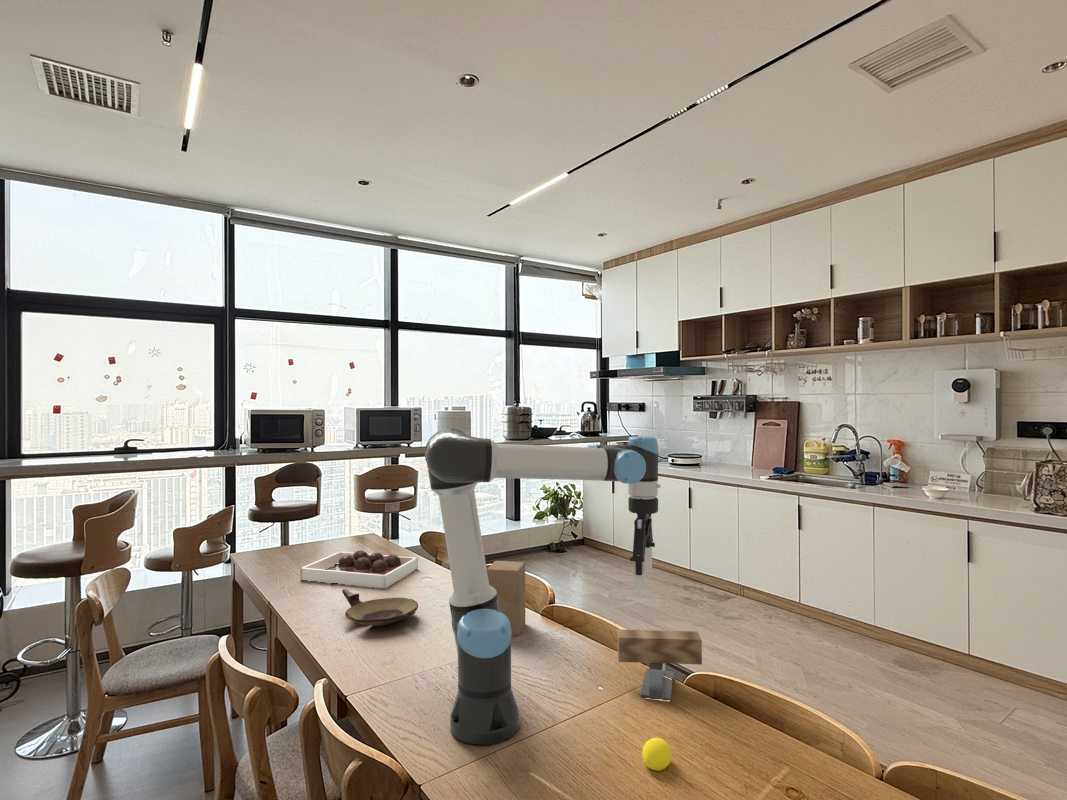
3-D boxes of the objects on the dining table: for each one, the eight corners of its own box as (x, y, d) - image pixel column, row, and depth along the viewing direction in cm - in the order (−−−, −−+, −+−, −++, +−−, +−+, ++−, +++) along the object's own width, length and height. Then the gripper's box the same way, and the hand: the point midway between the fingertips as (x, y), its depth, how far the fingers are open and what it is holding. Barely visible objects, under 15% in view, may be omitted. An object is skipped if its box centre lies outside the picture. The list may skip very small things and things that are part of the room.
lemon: (658, 782, 109) (658, 753, 109) (635, 769, 113) (635, 741, 113) (679, 765, 114) (679, 738, 114) (655, 753, 117) (655, 727, 117)
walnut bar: (697, 655, 146) (697, 631, 146) (701, 664, 141) (701, 639, 141) (617, 653, 148) (617, 629, 148) (618, 661, 143) (618, 637, 143)
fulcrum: (670, 702, 137) (670, 673, 137) (640, 698, 139) (640, 669, 139) (673, 675, 150) (673, 648, 150) (646, 672, 152) (645, 645, 152)
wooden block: (518, 637, 175) (518, 570, 175) (486, 634, 177) (486, 569, 177) (525, 624, 185) (525, 561, 185) (495, 622, 187) (495, 560, 187)
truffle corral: (385, 589, 221) (385, 575, 221) (300, 580, 231) (300, 568, 231) (417, 569, 245) (417, 557, 245) (339, 562, 256) (339, 551, 256)
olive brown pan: (363, 643, 172) (363, 617, 172) (329, 614, 196) (329, 591, 196) (431, 625, 185) (431, 601, 185) (392, 599, 209) (392, 578, 209)
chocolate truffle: (328, 576, 238) (328, 556, 238) (357, 566, 253) (357, 546, 253) (383, 585, 226) (383, 564, 226) (409, 574, 241) (409, 553, 241)
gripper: (652, 505, 136) (652, 596, 136) (663, 490, 160) (663, 567, 160) (620, 504, 139) (620, 592, 139) (635, 488, 162) (635, 564, 162)
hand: (643, 579), depth 149 cm, fingers open, 13 cm apart
